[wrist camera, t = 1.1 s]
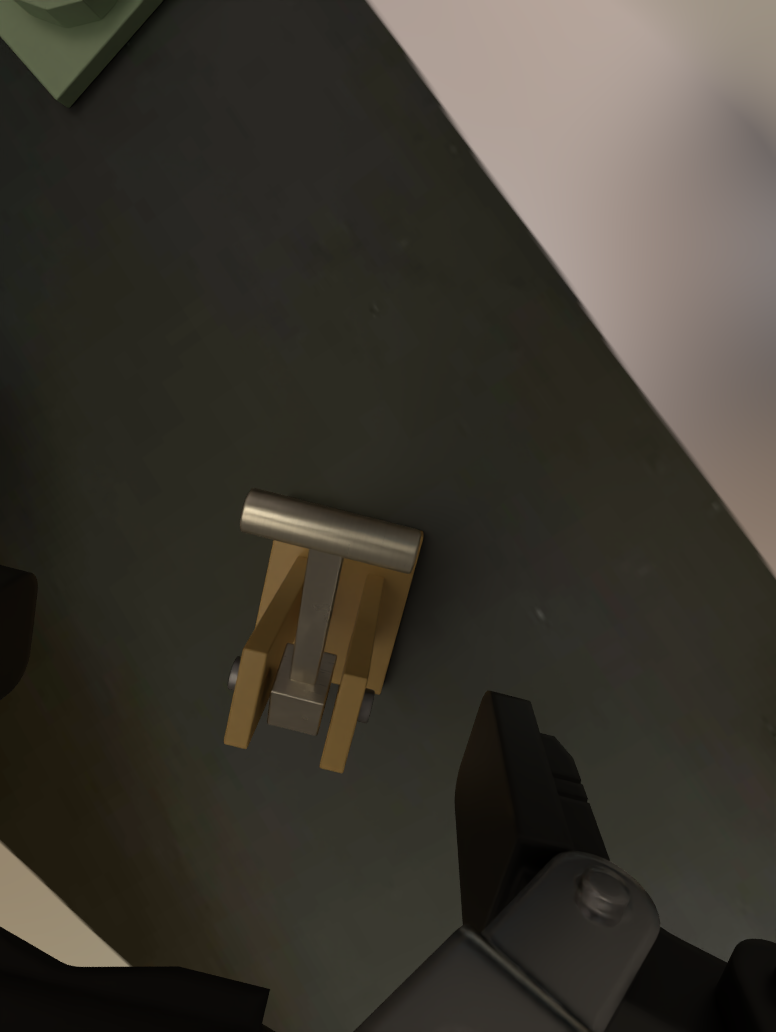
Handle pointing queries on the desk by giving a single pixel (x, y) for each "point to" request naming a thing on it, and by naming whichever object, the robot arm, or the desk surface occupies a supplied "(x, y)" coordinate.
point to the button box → (70, 38)
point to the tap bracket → (352, 637)
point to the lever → (319, 589)
